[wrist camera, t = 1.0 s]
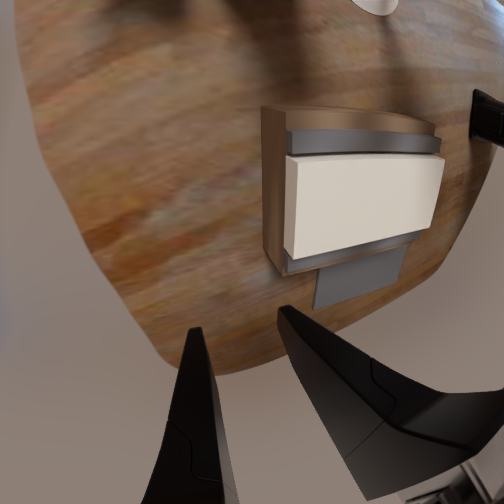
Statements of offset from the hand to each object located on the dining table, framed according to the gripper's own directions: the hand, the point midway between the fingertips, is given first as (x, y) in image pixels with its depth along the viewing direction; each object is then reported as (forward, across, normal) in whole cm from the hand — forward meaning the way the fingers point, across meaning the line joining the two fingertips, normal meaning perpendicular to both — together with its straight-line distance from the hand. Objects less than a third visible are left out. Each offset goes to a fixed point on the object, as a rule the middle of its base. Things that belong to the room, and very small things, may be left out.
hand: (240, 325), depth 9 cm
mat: (+12, -16, +10) cm, 23 cm away
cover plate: (+8, -12, 0) cm, 14 cm away
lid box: (+12, -12, 0) cm, 17 cm away
